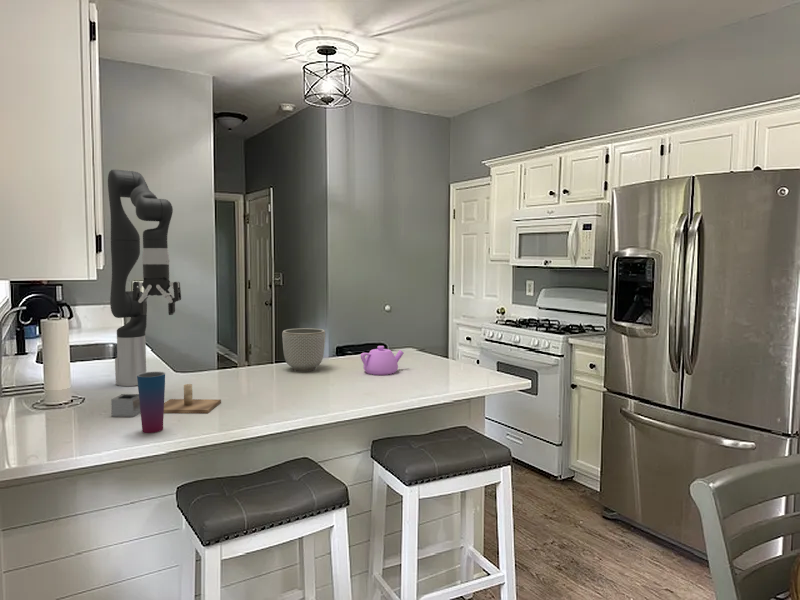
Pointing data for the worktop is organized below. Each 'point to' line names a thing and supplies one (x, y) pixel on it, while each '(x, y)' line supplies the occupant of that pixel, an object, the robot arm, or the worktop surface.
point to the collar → (125, 405)
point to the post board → (190, 408)
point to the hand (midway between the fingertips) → (157, 314)
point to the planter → (303, 348)
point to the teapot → (381, 361)
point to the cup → (151, 400)
